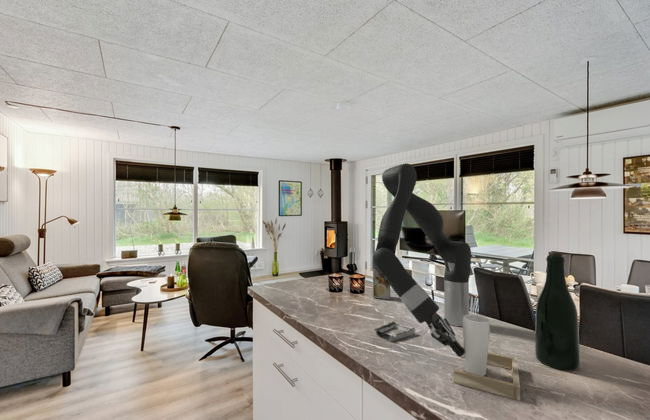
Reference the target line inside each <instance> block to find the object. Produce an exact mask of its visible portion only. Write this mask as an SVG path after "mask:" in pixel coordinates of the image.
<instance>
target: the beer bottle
mask: <svg viewBox="0 0 650 420" xmlns="http://www.w3.org/2000/svg"><path fill="white" fill-rule="evenodd" d="M545 260H546V278H545V282H544V285H543V288H542V290H541V292H540V295H539V296H538V298H537V300H536V301H537V302H536V305H535V322H534V324H535V326H534V327H535V328H534V329H535V330H534V331H535V332H534V352H535V353H534V355H535V358H536V359H537V360H538V362H540V363H542V364H543V365H546V366H547V367H551V368H554V369H558V370H561V371H575V370H578V369H579V368H580V362H581V361H580V359H581V358H580V357H581V356H580V355H581V354H580V334H579V331H580V330H579V316H578V310H577V305H576V303H575V300H574V298H573V297H572V295H571V292H570V290H569V287H568V284H567V279H566V271H565V270H566V269H565V267H566V265H565V263H566V259H565V256H563V252H561V251H548V254H547V256H546V259H545Z"/></svg>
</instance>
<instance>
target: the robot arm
mask: <svg viewBox="0 0 650 420" xmlns="http://www.w3.org/2000/svg"><path fill="white" fill-rule="evenodd" d="M381 178H382V179H381V181H382V183H383V186H384V188H385V189H386V190H387V191H388V192H389V193H390V195H391V196H392V197H393V200H392V201H391V203H390V204H389V206H388V207H387V209H386V210H385V211H384V213H383V216H382V218H381V220H380V224H379V229H378V233H377V242H376V246H375V247H376V248H375V251H374V253H373V255H372V268H373V267H374V268H375V270H376V271H377V272H379V273H383V274H384V276H385V277H386V278H387V279H388V281H389V283H390V288H392V290H393V292H394V293H395V294H396V295H397V296H398V297H399V298H400V300H401V301H402V303H403V304H404V306H405V307H406V309H407V310H409V312H410V313H411V314H412V316H413V317H414V318H415V320H416V321H417V322H418V323H420V324H423V323H424V322H425V324H426V325H427V326H428V329H429V330H430V331H431V333H430V336H431V337H432V338H433V339H435V340H436V341H437V342H439V343H440V344H442V346H445V347H446V346H448V347H450V349H451V350H452V351H453V352H454V353H455V354H456V356H457V357H459V358H461V356H462V355H464V353H465V351H464V349H463V348H462V347H463V346H462V345H461V344H460V342H459V341H457V338H456V333H455V332H454V330H453V328H452V327H451V325H452V326H455V327H456V326H457V327H463V316H464V315H468V314H470V300H469V299H470V295H469V294H470V287H469V286H470V283H469V281H470V276H471V266H472V265H471V263H472V250H471V246H470V245H469V243H467V242H465V241H459V240H457V241H455V240H451V239H449V237H448V236H447V235H446V234H445V232H444V219H443V217H442V215H441V213H440V212H439V211H438V209H437V208H436V207H435V205H433V204H432V203H431V202H430V201H429V200H426V199H425V198H423V197H420V196H419V195H416V193H414V189H415V186H416V184H417V179H418V177H417V170H416V169H415V167H414V166H413V165H412V164H411V163H403V164H402V163H401V164H399V165H395V166H392V167H390V168H387V169H385V170H384V171H383V173H382V175H381ZM406 212H407V213H408V214H409V215H410V216H411V218H412V219H413V220H414V222H415V223H416V224H417V226H418V227H419V228H420V229H421V231H422V232H424V234H425V236H426V237H427V238H428V239H429V241H430V243H431V244H432V245H433V247H434V248H435V250H436V252H437V253H438V255H439V257H440V258H441V259H442V261H444V262H446V263H449V264H453V266H454V267H453V269H452V270H448V271H446V272H444V275H443V276H444V277H443V278H444V280H443V281H444V282H443V284H444V286H443V287H444V288H443V289H444V295H443V298H444V299H443V300H444V302H443V305H444V306H443V307H444V310H443V311H444V317H442V316H440V314H438V313H437V312H438V311H439V310H440V306H439V305H438V304H437V303H436V301H434V300H433V298H432V297H431V296H430V295H429V294H428V292H427V291H426V290H425V289H424V288H423V287H422V286H421V285H420V284H419V283H418V282H417V281H416V280H415V278H413V276H412V275H411V274H409V272H408V271H407V269H406V268H405V267H404V265H403V264H402V262H401V261H400V259H399V258H398V256H397V255H396V252H397V247H398V243H399V239H400V236H401V231H402V226H403V220H404V217H405V214H406Z"/></svg>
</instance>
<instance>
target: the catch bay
mask: <svg viewBox="0 0 650 420" xmlns="http://www.w3.org/2000/svg"><path fill="white" fill-rule="evenodd" d="M462 348H463V349H464V346H462ZM460 358H461V359H464V360H465V355H462V356H461V357H460ZM487 365H490V366H495V367H499V368H504V369H509V370H511V372H512V374H511V375H512V382H509V381H504V380H502V379H501V380H500V379H496V378H493V377H489V376H488V377H487V376H485V375H484V376H480V375H476V374H472V373H468V372H467V371H463V370H460V369H456V368H454V369H453V373H452V374H453V380H452V381H453V382H452V383H454V384H457V385H460V386H465V387H469V388H473V389H476V390H480V391H483V392H487V393H491V394H494V395H497V396H498V395H499V396H502V397H504V398H510V399H513V400H517V401H521V383H520V374H519V367H518V366H519V365H518V358H517V357H514V356H509V355H505V354H499V353H495V352H489V351H488V356H487Z"/></svg>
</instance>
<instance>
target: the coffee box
mask: <svg viewBox="0 0 650 420" xmlns="http://www.w3.org/2000/svg"><path fill="white" fill-rule="evenodd" d="M372 296H373V297H372V298H384V299H383V300H391V285H390V283H389V281H388V279H387V278H386V277H385V276H384V274H383V273H379V272H377V271H376V270H375V268H374V267H373V266H372Z"/></svg>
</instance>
